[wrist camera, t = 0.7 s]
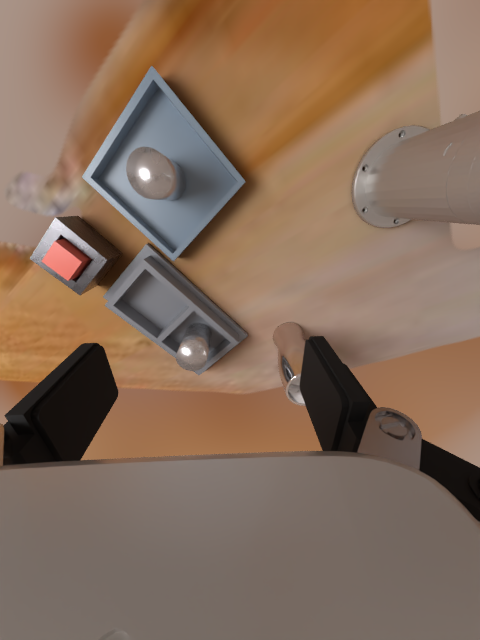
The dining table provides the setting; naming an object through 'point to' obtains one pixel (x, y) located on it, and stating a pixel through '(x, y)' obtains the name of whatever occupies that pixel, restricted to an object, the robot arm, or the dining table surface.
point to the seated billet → (194, 347)
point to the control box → (86, 242)
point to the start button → (66, 259)
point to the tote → (178, 145)
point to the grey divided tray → (169, 306)
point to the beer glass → (290, 359)
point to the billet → (155, 175)
